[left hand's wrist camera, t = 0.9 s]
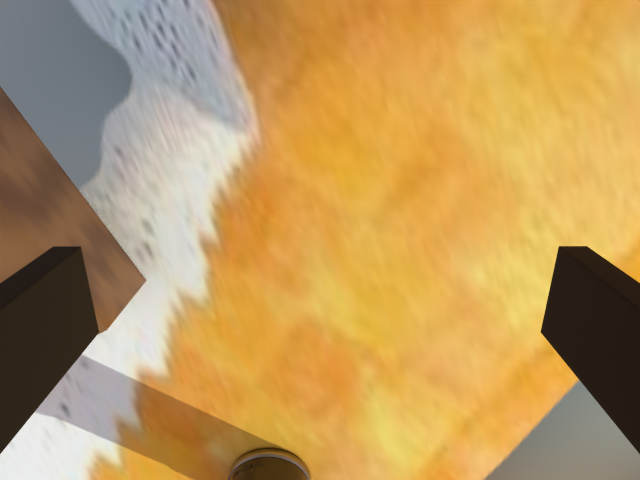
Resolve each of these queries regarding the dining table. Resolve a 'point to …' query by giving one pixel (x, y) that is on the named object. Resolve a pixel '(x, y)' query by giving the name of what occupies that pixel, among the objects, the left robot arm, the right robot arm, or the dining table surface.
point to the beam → (55, 218)
